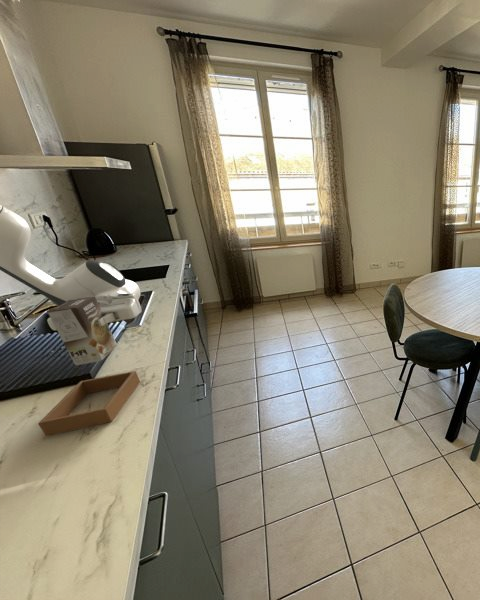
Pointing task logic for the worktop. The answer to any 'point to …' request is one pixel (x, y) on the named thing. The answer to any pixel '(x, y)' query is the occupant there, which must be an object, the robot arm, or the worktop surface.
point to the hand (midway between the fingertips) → (81, 326)
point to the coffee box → (83, 330)
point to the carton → (64, 422)
